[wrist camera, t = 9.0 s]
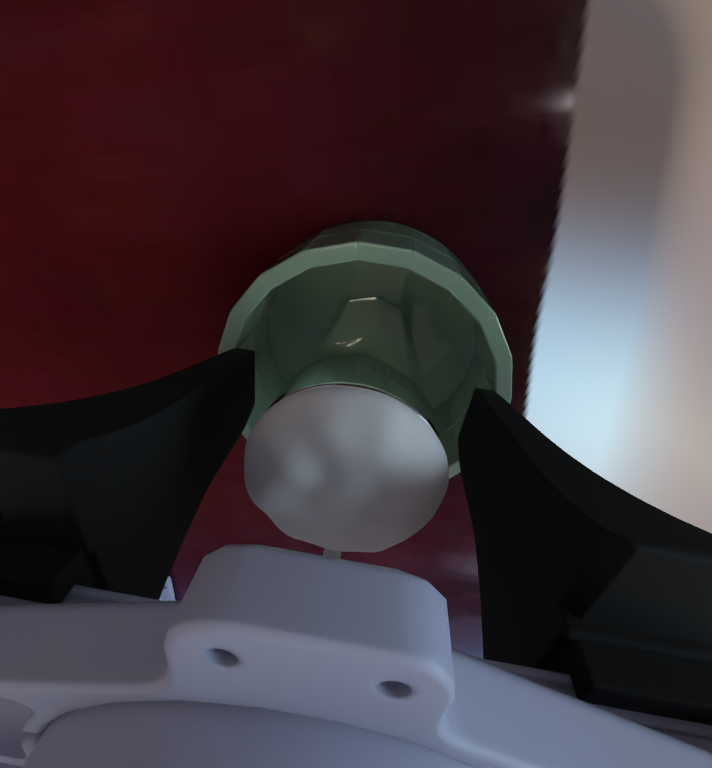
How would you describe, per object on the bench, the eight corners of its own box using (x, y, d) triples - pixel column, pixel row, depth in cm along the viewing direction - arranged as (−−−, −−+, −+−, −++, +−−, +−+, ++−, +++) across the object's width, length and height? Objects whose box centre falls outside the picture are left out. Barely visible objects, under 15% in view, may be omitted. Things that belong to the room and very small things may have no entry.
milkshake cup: (309, 389, 17) (216, 621, 8) (319, 269, 14) (197, 434, 6) (409, 406, 17) (417, 658, 8) (439, 289, 14) (497, 487, 6)
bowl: (450, 442, 19) (463, 517, 15) (261, 410, 19) (224, 475, 15) (518, 242, 14) (564, 274, 10) (262, 201, 14) (208, 217, 10)
